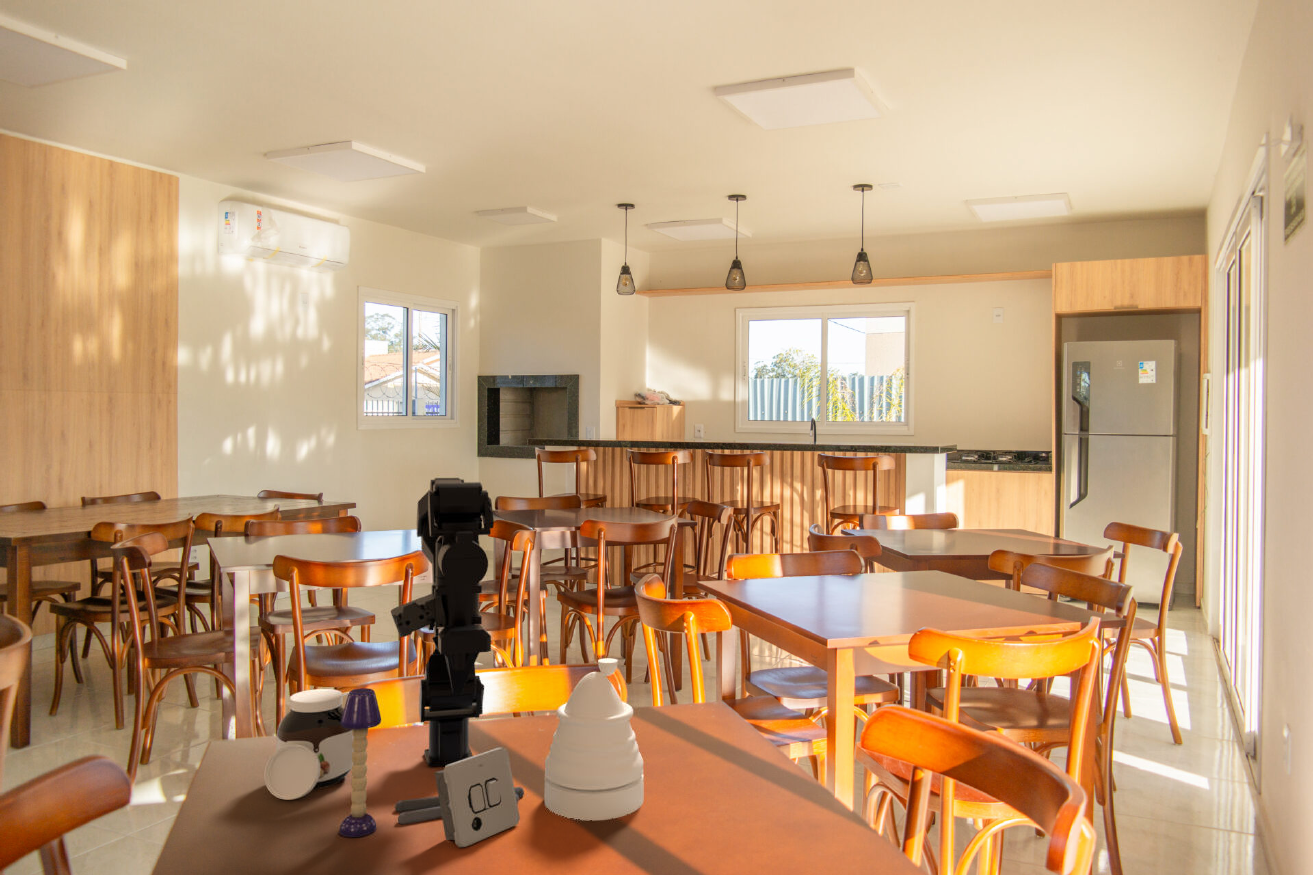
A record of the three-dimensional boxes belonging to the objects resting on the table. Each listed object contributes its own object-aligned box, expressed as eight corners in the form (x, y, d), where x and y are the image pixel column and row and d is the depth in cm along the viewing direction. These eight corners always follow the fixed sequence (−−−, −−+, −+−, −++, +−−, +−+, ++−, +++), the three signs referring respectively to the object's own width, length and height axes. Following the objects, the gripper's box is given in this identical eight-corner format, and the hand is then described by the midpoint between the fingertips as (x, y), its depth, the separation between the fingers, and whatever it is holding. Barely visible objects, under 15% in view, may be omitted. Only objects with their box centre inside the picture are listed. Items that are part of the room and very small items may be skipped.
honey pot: (613, 775, 131) (614, 647, 131) (661, 807, 120) (662, 666, 120) (528, 793, 125) (529, 658, 125) (571, 828, 114) (572, 679, 114)
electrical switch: (460, 851, 107) (456, 768, 108) (432, 843, 110) (428, 763, 111) (521, 825, 115) (517, 747, 115) (493, 818, 118) (488, 743, 118)
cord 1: (394, 810, 119) (394, 799, 119) (522, 795, 125) (522, 784, 125) (395, 814, 118) (395, 803, 118) (524, 798, 123) (524, 788, 123)
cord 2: (396, 823, 115) (396, 811, 115) (516, 801, 122) (516, 790, 122) (399, 827, 114) (399, 815, 114) (520, 805, 121) (520, 794, 121)
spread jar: (348, 765, 135) (349, 684, 135) (363, 792, 125) (364, 704, 125) (258, 779, 129) (258, 694, 129) (266, 808, 119) (267, 716, 119)
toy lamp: (345, 821, 115) (345, 685, 115) (383, 820, 116) (384, 684, 115) (335, 838, 110) (336, 696, 110) (376, 837, 111) (376, 695, 111)
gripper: (390, 569, 132) (390, 680, 132) (399, 590, 114) (399, 718, 114) (471, 566, 135) (470, 674, 135) (491, 585, 118) (491, 710, 118)
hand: (457, 693), depth 125 cm, fingers closed
